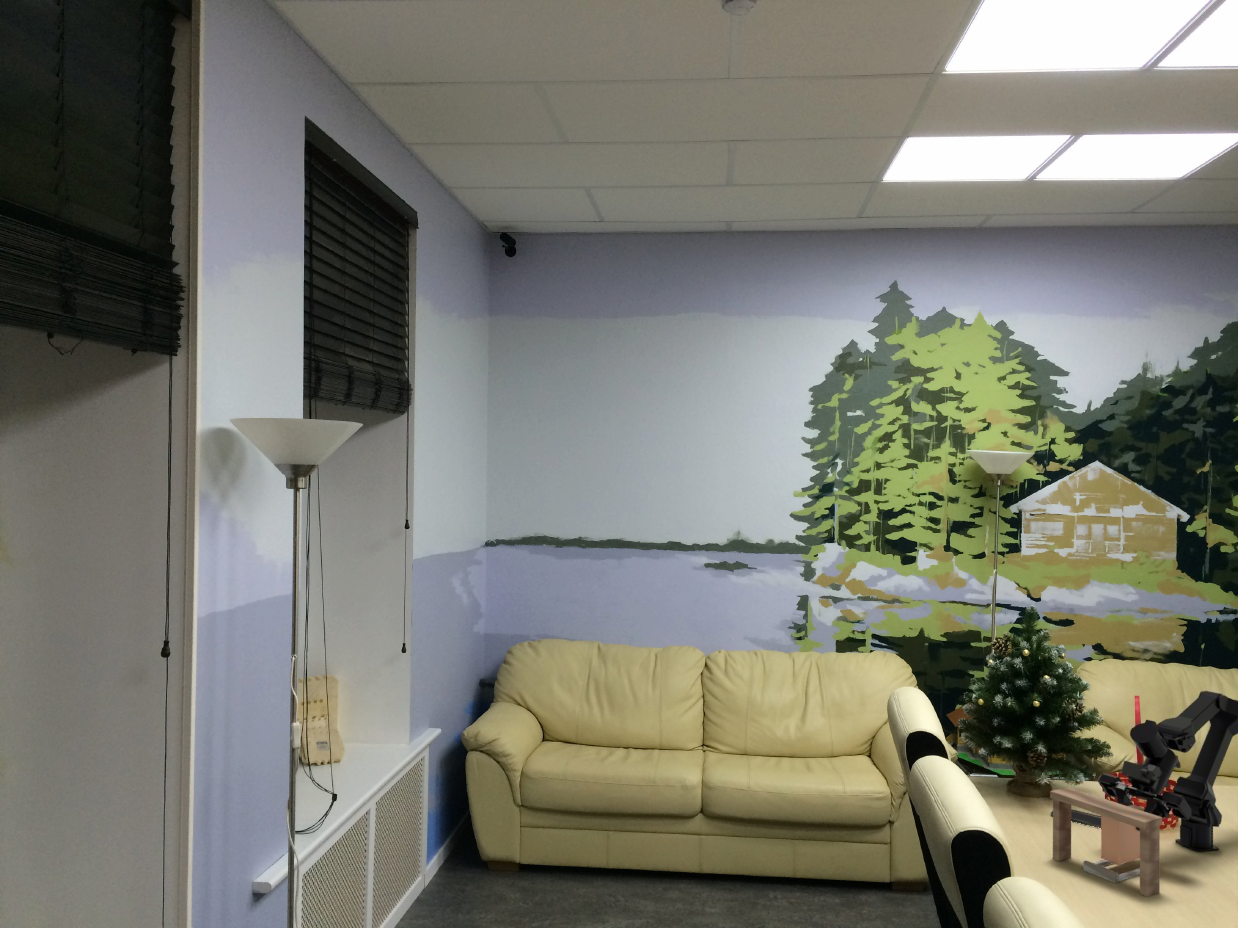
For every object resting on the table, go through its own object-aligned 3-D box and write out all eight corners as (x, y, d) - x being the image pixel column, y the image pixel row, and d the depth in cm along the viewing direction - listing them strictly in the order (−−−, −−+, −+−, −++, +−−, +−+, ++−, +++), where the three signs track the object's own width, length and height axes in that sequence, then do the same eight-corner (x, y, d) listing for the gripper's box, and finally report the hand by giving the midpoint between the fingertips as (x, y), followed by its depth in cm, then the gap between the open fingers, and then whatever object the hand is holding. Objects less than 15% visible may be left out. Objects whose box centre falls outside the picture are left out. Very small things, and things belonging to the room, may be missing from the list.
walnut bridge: (1087, 848, 210) (1087, 782, 210) (1182, 884, 191) (1182, 811, 191) (1049, 859, 203) (1050, 790, 203) (1144, 897, 184) (1144, 822, 185)
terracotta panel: (1132, 848, 204) (1133, 804, 204) (1150, 855, 200) (1150, 810, 201) (1101, 857, 198) (1101, 812, 198) (1118, 864, 194) (1118, 818, 195)
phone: (1058, 806, 237) (1121, 820, 227) (1058, 810, 237) (1121, 825, 227) (1049, 813, 231) (1113, 828, 221) (1049, 817, 231) (1113, 833, 221)
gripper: (1102, 738, 211) (1073, 791, 205) (1184, 759, 195) (1155, 817, 189) (1122, 767, 214) (1094, 820, 209) (1204, 790, 198) (1176, 849, 192)
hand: (1127, 826), depth 200 cm, fingers closed on terracotta panel, 4 cm apart
